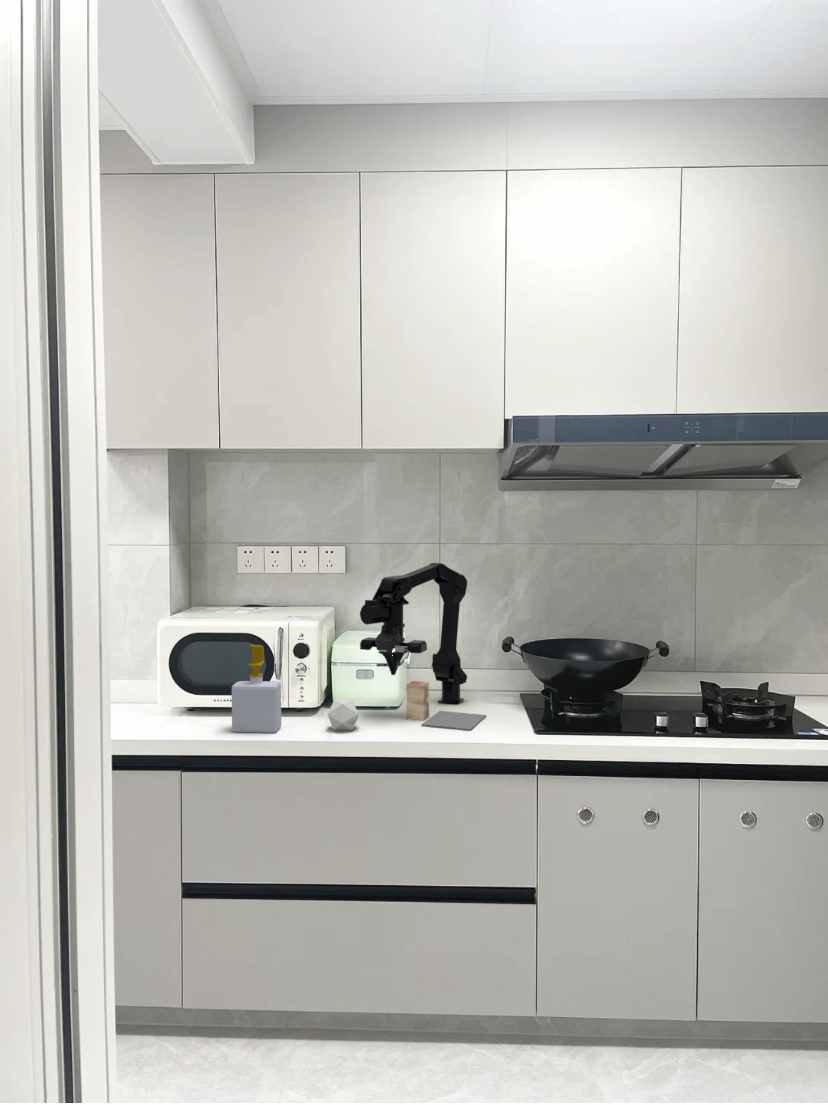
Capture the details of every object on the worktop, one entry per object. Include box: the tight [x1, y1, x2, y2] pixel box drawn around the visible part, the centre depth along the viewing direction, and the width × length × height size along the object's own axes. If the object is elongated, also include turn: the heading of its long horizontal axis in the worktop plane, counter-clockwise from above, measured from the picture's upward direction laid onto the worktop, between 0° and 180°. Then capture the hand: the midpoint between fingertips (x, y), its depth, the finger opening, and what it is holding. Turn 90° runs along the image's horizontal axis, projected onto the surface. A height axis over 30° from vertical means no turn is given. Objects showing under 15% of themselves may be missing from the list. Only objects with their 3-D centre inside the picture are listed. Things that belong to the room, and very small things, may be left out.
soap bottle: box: [231, 644, 282, 734], centre depth 223 cm, size 12×7×23 cm, turn 87°
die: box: [327, 699, 360, 732], centre depth 224 cm, size 8×9×10 cm
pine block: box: [406, 680, 430, 722], centre depth 236 cm, size 5×5×10 cm
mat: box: [421, 710, 487, 732], centre depth 232 cm, size 16×14×1 cm
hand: (393, 674), depth 238 cm, fingers closed
